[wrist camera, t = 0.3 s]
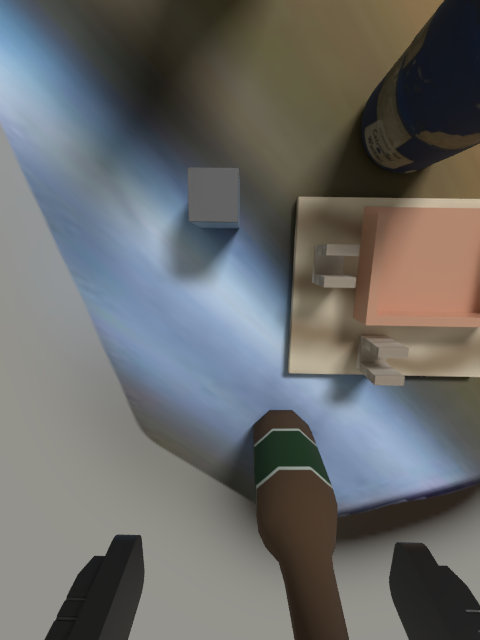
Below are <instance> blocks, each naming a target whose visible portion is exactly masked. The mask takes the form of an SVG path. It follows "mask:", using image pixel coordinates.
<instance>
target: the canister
mask: <svg viewBox="0 0 480 640" xmlns="http://www.w3.org/2000/svg"><path fill="white" fill-rule="evenodd" d="M361 136H362V142H363V145H364V148H365V150H366V152H367V154H368V155H369V157H370V158H371V160H372V161H373V162H374V163H375V164H376V165H378V166H379V167H381V168H383V169H385V170H387V171H390V172H394V173H411V172H415V171H418V170H421V169H424V168H426V167H428V166H430V165H432V164H434V163H436V162H439V161H441V160H444V159H446V158H448V157H451V156H453V155H455V154H458V153H460V152H462V151H464V150H466V149H468V148H471V147H473V146H475V145H477V144H479V143H480V0H444V2H443V3H442V4H441V5H440V6H439V8H438V9H437V11H436V12H435V13H434V14H433V16H432V17H431V18H430V19H429V20H428V22H427V23H426V24H425V25H424V27H423V28H422V29H421V30H420V32H419V33H418V34H417V35H416V37H415V38H414V40H413V41H412V43H411V45H410V46H409V47H408V48H407V49H406V51H405V52H404V53H403V54H402V56H401V57H400V58H399V59H398V61H397V62H396V63H395V64H394V66H393V67H392V68H391V69H390V71H389V72H388V73H387V75H386V76H385V77H384V78H383V80H382V81H381V82H380V83H379V85H378V86H377V87H376V88H375V90H374V91H373V93H372V94H371V96H370V98H369V100H368V102H367V104H366V106H365V109H364V113H363V117H362V123H361Z"/></svg>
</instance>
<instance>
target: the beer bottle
mask: <svg viewBox="0 0 480 640" xmlns="http://www.w3.org/2000/svg"><path fill="white" fill-rule="evenodd" d="M254 473H255V495H256V515H257V524H258V531H259V534H260V536H261V538H262V541H263V543H264V545H265V547H266V548H267V549H268V550H269V552H270V553H271V554H272V555H273V556H274V557H275V559H276V560H277V561H278V562H279V565H280V569H281V572H282V575H283V579H284V582H285V588H286V593H287V599H288V605H289V611H290V616H291V622H292V628H293V633H294V639H295V640H349V637H348V633H347V628H346V624H345V619H344V615H343V610H342V606H341V601H340V597H339V592H338V588H337V583H336V579H335V574H334V570H333V563H332V554H333V552H334V549H335V543H336V528H337V502H336V499H335V495H334V491H333V488H332V485H331V483H330V480H329V477H328V475H327V472H326V469H325V467H324V464H323V461H322V459H321V456H320V453H319V451H318V448H317V445H316V443H315V440H314V437H313V435H312V432H311V430H310V428H309V426H308V424H306V423H305V422H304V421H303V420H302V419H301V418H300V417H299V416H298V415H297V414H296V413H295V412H293V411H292V410H270V411H269V412H268V413H267V414H266V415H264V416H263V417H262V418H261V419H260V420H259V421H258V422H257V423H256V424H255V425H254Z"/></svg>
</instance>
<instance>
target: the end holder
mask: <svg viewBox="0 0 480 640" xmlns="http://www.w3.org/2000/svg"><path fill="white" fill-rule="evenodd" d="M353 318H354V319H356V320H358V321H359V322H361V323H363V324H364V325H379V326H434V327H480V208H420V207H365V208H364V216H363V225H362V235H361V245H360V254H359V264H358V274H357V283H356V293H355V303H354V312H353Z"/></svg>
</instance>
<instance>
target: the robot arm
mask: <svg viewBox="0 0 480 640" xmlns="http://www.w3.org/2000/svg"><path fill="white" fill-rule="evenodd" d="M143 582H144V560H143V549H142V539H141V536H140V535H116V536H115V537H114V539H113V541H112V542H111V545H110V547H109V549H108V551H107V553H106V556H94V557H93V558H92V559H91V560H90V562H89V563H88V564H87V565H86V566H85V567H84V568H83V569H82V571H81V572H80V573H79V574H78V575H77V578H76V579H75V581H74V583H73V586H72V587H71V589H70V591H69V594H68V595H67V599H66V601H64V603H63V605H62V607H61V609H60V611H59V613H58V615H57V618H56V620H55V621H54V623H53V625H52V626H51V628H50V630H49V632H48V634H47V636H46V638H45V640H128V637H129V634H130V631H131V627H132V624H133V620H134V617H135V614H136V610H137V607H138V604H139V600H140V597H141V593H142V588H143ZM389 585H390V591H391V596H392V599H393V602H394V605H395V607H396V610H397V612H398V615H399V617H400V619H401V622H402V624H403V627H404V629H405V631H406V633H407V636H408V638H409V640H480V605H479V603H478V602H477V600H476V599H475V597H474V596H473V594H472V593H471V591H470V590H469V588H468V587H467V585H466V584H465V583H464V582H463V581H462V580H461V579H460V578H459V577H458V576H457V575H456V574H454V572H452V571H451V570H450V568H448V566H438V564H437V563H436V561H435V559H434V558H433V556H432V554H431V553H430V551H429V549H428V548H427V547H426V546H425V545H424V544H423V543H405V542H397V543H396V544H395V548H394V554H393V559H392V565H391V571H390V576H389Z"/></svg>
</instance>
